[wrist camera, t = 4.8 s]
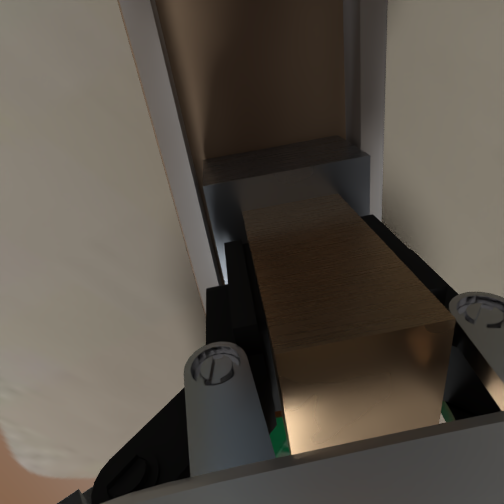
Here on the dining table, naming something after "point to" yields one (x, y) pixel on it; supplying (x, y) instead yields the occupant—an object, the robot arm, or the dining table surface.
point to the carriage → (331, 293)
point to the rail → (255, 89)
